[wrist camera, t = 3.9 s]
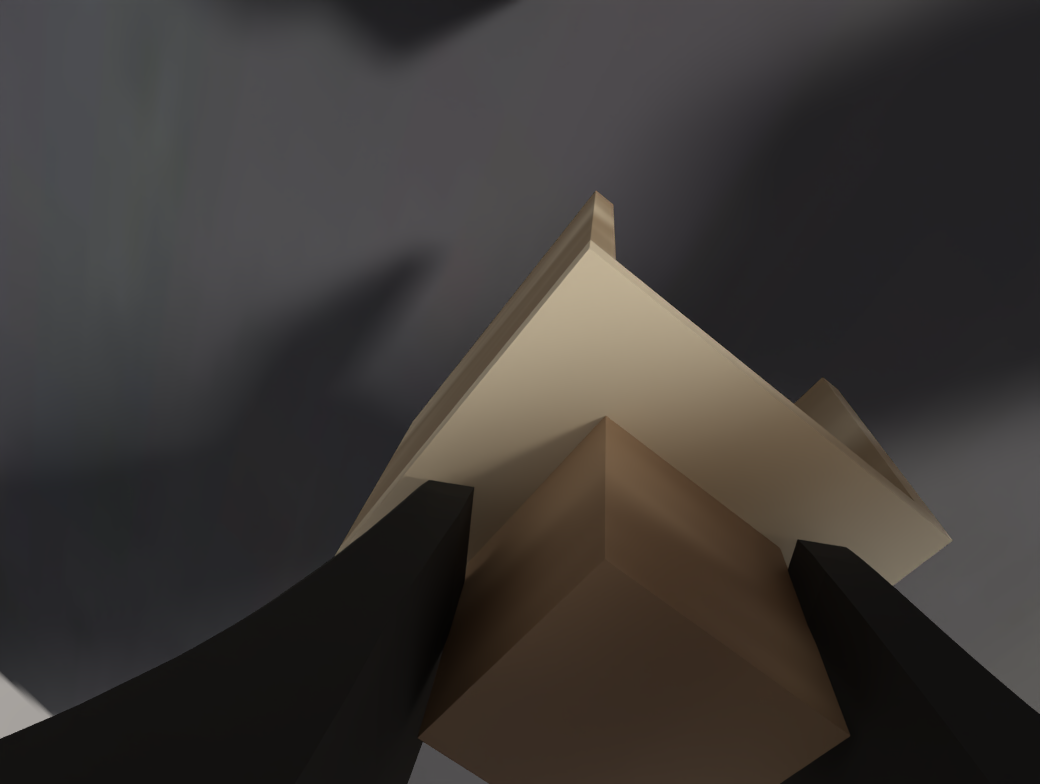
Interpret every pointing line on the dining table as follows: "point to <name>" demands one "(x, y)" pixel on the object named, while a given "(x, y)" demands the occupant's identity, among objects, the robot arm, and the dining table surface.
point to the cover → (638, 538)
